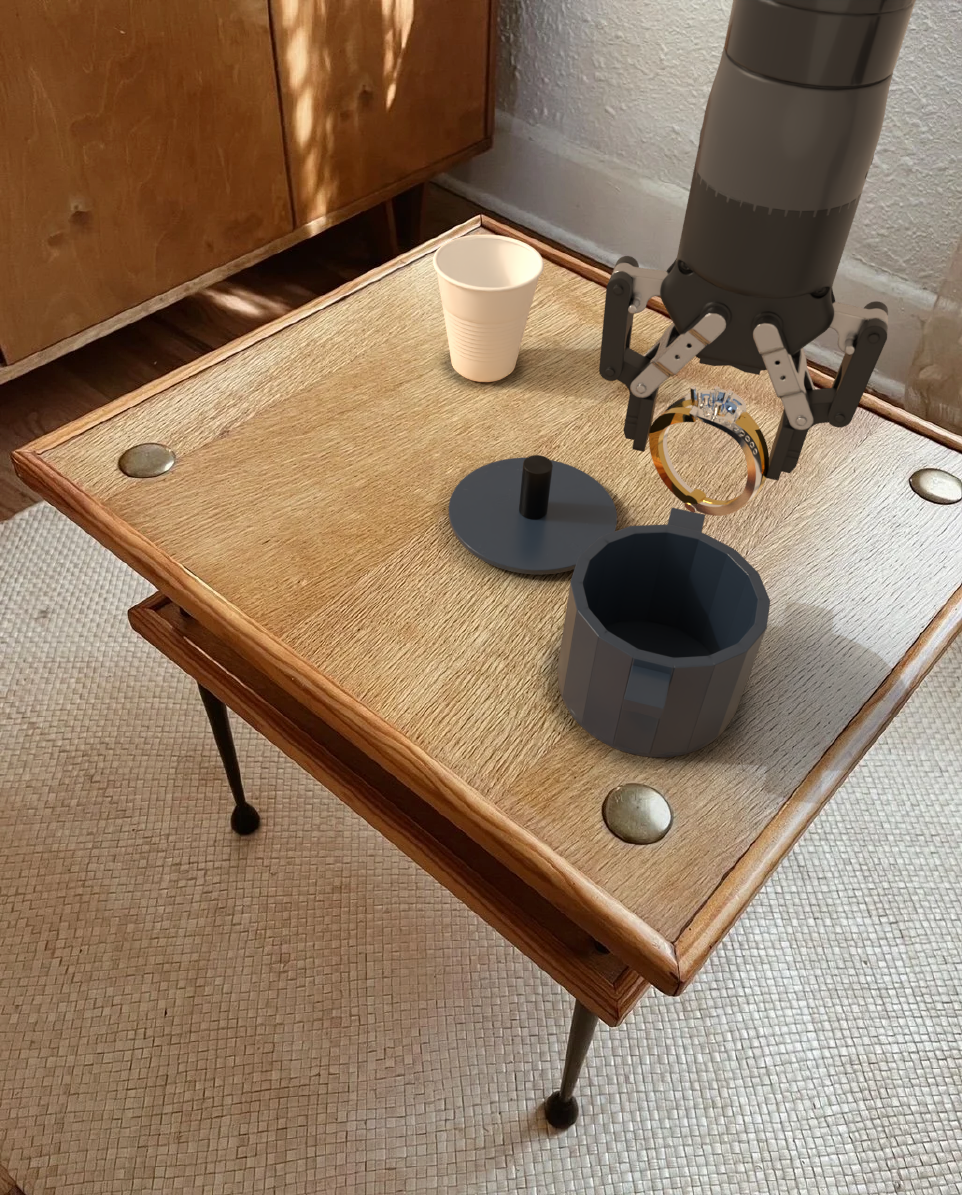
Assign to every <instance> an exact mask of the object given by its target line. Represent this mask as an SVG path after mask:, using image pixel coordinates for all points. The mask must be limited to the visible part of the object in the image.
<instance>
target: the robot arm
mask: <svg viewBox="0 0 962 1195" xmlns="http://www.w3.org/2000/svg"><path fill="white" fill-rule="evenodd" d="M916 1H917V0H732V3H731V8H730V9H731V10H730V13H729V18H728V24H727V29H726V34H725V39H724V45H723V49H722V53H721V57H720V61H719V64H718V67H717V71H716V73H715V76H714V79H713V82H712V84H711V88H710V92H709V95H708V97H707V102H706V106H705V110H704V114H703V121H702V124H701V125H702V126H701V129H700V131H699V139H698V140H699V141H698V147H697V152H696V157H695V162H694V167H693V171H692V177H691V183H690V188H689V193H688V198H687V204H686V209H685V214H684V218H683V224H682V228H681V235H680V240H679V244H678V250H677V255H676V258H675V259H674V261H673V262H672V264H671V265H670V266H669V267H668V268H667V269H666V270H661V269H654V268H646V267H640V264H639V262H638V261H637V259H636V258H634V257H633V256H631V255H623V256H621V257H619V258H618V259H617V261H616V263H615V265H614V267H613V269H612V272H611V275H610V277H609V279H608V282H607V284H606V287H605V288H606V290H605V299H604V300H605V301H604V310H603V322H602V332H601V344H600V354H599V355H600V356H599V364H598V366H599V367H598V372H599V375H600V377H601V378H602V379H604V380H605V381H608V382H614V381H618V382H620V383H622V384H624V386H626V388H627V389H628V392H629V394H628V395H629V397H628V402H627V407H626V414H625V419H624V424H623V429H622V430H623V435H624V438H625V439H627V440H631V441H633V443H632V450H633V451H638V452H643V453H644V452H645V451H646V448H647V444H648V442H649V434H650V429H651V426H652V424H653V420H654V415H655V409H656V406H657V405H656V404H657V400H658V395H659V390H660V386H661V385H662V384H663V383H664V382H665V381H667V380H668V379H669V378H670V377H672V378H673V377H674V376H676V375H677V374H678V373H679V372H680V371H681V370H682V369H683V368H684V367H685V366H686V365H688V363H690V362H691V361H692V360H693V359H694V358H695V357H696V358H697V359H699V362H698V364H701V365H705V366H706V365H707V366H711V367H724V366H725V367H728V366H730V367H732V368H734V369H737V370H739V371H741V372H744V373H747V374H752V375H756V376H760V374H761V372H762V371H763V372H764V371H767V374H768V376H769V379H770V381H771V385H772V387H773V390H774V393H775V395H776V398H778V399H780V401H781V404H782V406H783V410H782V414H781V417H780V420H779V424H778V427H777V430H776V432H775V436H774V439H773V443H772V446H771V450H770V453H769V468H768V472H767V476H766V479H769V480H773V481H779V480H780V478H781V475H782V473H785V474H791V473H792V472H793V471H794V470H795V469H796V467H797V466H798V465H797V464H798V462H799V459H800V456H801V452H802V450H803V447H804V445H805V441H806V438H807V435H808V432H809V431H810V429H811V428H813V427H814V426H816V425H819V424H829V425H831V426H832V427H834V428H844V427H847V426H849V425H850V424H851V422H852V420H853V418H854V416H855V413H856V411H857V409H858V407H859V404H860V402H861V399H862V398H863V395H864V393H865V391H866V388H867V386H868V383H869V382H870V379H871V377H872V374H873V372H874V370H875V368H876V366H877V363H878V361H879V358H880V356H881V354H882V352H883V349H884V347H885V345H886V342H887V340H888V328H889V309H888V306H887V305H886V304H885V302H882V301H877V300H875V301H871V302H869V303H867V304H866V305H865V306H864V307H860V306H857V305H851V304H847V303H844V302H838V301H836V298H835V294H834V291H833V290H834V289H833V286H834V282H835V280H836V276H837V273H838V269H839V266H840V263H841V260H842V256H843V253H844V250H845V248H846V244H847V241H848V238H849V234H850V231H851V229H852V225H853V222H854V219H855V216H856V213H857V209H858V206H859V203H860V200H861V198H862V194H863V190H864V187H865V185H866V184H865V183H866V181H867V178H868V175H869V171H870V168H871V166H872V164H873V161H874V157H875V153H876V150H877V147H878V144H879V140H880V136H881V133H882V129H883V124H884V119H885V115H886V109H887V102H888V96H889V92H890V87H891V84H892V79H893V74H894V70H895V68H896V65H897V62H898V60H899V56H900V53H901V49H902V46H903V43H904V40H905V37H906V33H907V30H908V27H909V24H910V21H911V17H912V14H913V11H914V8H915V5H916ZM654 297H660V300H661V302H662V304H663V306H664V308H665V310H666V312H667V313H668V315H669V317H670V319H671V321H672V323H671V324H670V325H668V327H667V328H666V329H665V330H664V332H663V333H662V335H661V336H660V338H659V339H658V340H657V341H656V342H655V343H653V345H652V346H651V347H650V348H648V350H647V351H646V352H645V353H643V354H641V353H639V352H637V351H636V350H634V349H632V348H631V344H632V343H631V341H632V332H633V325H634V324H633V323H634V315H635V314H639V313H642V312H644V311H645V309H646V308H647V305H648V302H649V301H650V300H651V299H652V298H654ZM829 328H830V329H832V330H834V331H835V332H836V334H837V347H838V349H839V350H840V352H842V353H844V355H843V357H842V360H841V362H840V365H839V367H838V370H837V372H836V374H835V376H834V377H835V378H834V380H833V382H832V385H831V387H826V388H817V389H816V387H815V385H814V382H813V380H812V376H811V373H810V370H809V368H808V363H807V355H806V353H805V349H804V348H805V347H806V346H807V345H809V344H810V343H811V342H813V341H814V340H816V339H817V338H819V337H820V336H822V335H823V334H824V333H825V332H826V331H828V330H829Z"/></svg>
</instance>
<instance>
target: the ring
mask: <svg viewBox="0 0 962 1195" xmlns="http://www.w3.org/2000/svg"><path fill="white" fill-rule="evenodd" d="M689 406H691V407H689ZM697 421H699V422H701V423H704V424H706V425H709V426H712V427H714V428H716V429H718V430H720V431H722V432H724V433H726V434H727V435H728V436H730V438H732V439H734V440H735V442H736V443H737V444H738V445H739V447H740V448H741V450H742V452H743V455H744V457H745V461H746V462H745V463H746V468H747V476H746V483H745V486H744V489H743V490H742V492H741V493H740V494H739V495H738V496H736V497H733V498H731V499H727V500H719V499H713V498H710V497H707V494H706V493H705V491H703V490H701V489H700V488H694V489H693V488H692V487H690V485H688V484H687V482H685V480H684V479H683V478H681V476H680V474H679V473H678V471H677V470H676V468H675V466H674V464H673V461H672V460H671V457H670V453H669V448H668V434H669V431H670V427H671V426H672V425H675V424H682V423H696V422H697ZM648 446H649V452H650V456H651V461H652V463H653V466H654V468H655V470H656V472H657V474H658V476H659V477H660V479H661V480H662V482H663V483H664V485H665V486H666V488H667V489H668V490H669V491H670V492H671V493H672V494H673V495H674V497H676V498H677V499H678V500H680V502H682V503H683V506H684V508H685V509H686V510H687V511H691V512H695V513H700V514H704V515H708V516H714V517H721V516H727V515H731V514H734V513H735V512H737V511H739V510H741V509H742V508H744V507H745V506H746V505H748V504H749V503H751V502H752V501H753V500H754V499H755V498H756V496H758V494H759V493H760V492H761V491H762V488H763V487H764V485H765V483H766V480H767V478H766V476H767V472H768V468H769V456H770V453H769V448H768V444H767V441H766V438H765V435H764V433H763V431H762V429H761V428H760V426H759V425H758V423H757V422H756V421H755V419H754V418H753V417H752V416H751V415H750V414H749V412H748V411H747V403H746V402H745V400H744V398H742V397H741V396H740V395H739V394H737V393H736V392H735V391H733V390H732V389H729V388H728V389H727V390H724V388H721V387H720V386H718V385H715V386H714V388H713V389H703V390H697V385H693V386H691V387H689V393H686V394H684V395H683V396H681V397H680V398H678V399H677V400H675V401H673V403H671V404H670V405H669V406H668V407H667V408H666V409H665V410H664V412H662V413H661V414H660V415H659V416H658V417H656V418H655V420H654V421H652V425H651V429H650V434H649V438H648Z"/></svg>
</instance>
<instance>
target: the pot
mask: <svg viewBox="0 0 962 1195" xmlns="http://www.w3.org/2000/svg"><path fill="white" fill-rule="evenodd" d="M705 519H706V514H704V513H701V512H691V511H689V510H687V509H686V510H685V509H681V508H676V507H671V508H670V512H669V516H668V520H667V524H641V525H640V524H639V525H629V526H626V527H623V528H621V529H618V530H616V531H615V532H612V533H609V534H607V535H604V536H601V537H599V538H598V539H597V540H596V541H595V542H594V543H593V544H592V545H591V546H590V547H589V548H587V549H586V550H585V551H584V552H583V553H582V554H581V555H580V556H579V557H578V560H577V563H576V566H575V569H573V572H572V575H571V579H570V583H569V588H568V594H567V602H566V608H565V614H564V616H565V617H564V621H563V622H564V623H563V629H562V636H561V641H560V649H559V655H558V661H557V668H556V672H557V683H558V690H559V692H560V696H561V699H562V701H563V703H564V706H565V707H566V709H567V711H568V713H569V714H570V715H571V717H572V718H573V719H574V720H575V722H576V723H577V724H578V725H579V726H580V727H581V728H582V729H584V730H585V731H586V732H587V734H589V735H591V736H592V737H593V738H595V739H596V740H598V741H600V742H602V743H603V744H605V745H606V746H608V747H611V748H613V749H616V750H618V751H620V752H621V751H622V752H624V753H628V754H631V755H635V756H641V757H648V758H671V757H678V756H683V755H688V754H690V753H693V752H696V751H698V750H701V749H703V748H705V747H707V746H708V745H710V744H711V743H713V742H714V741H715V740H716V739H718V738H719V737H720V736H722V734H723V733H724V731H725V730H726V729H727V728H728V726H729V724H731V721H732V719H733V718H734V717H735V716H736V713H737V711H738V708H739V705H740V702H741V699H742V697H743V695H744V692H745V689H746V686H747V684H748V680H749V678H750V676H751V673H752V670H753V667H754V664H755V661H756V659H757V656H758V653H759V650H760V648H761V645H762V642H763V640H764V637H765V635H766V631H767V628H768V621H769V614H770V606H771V599H770V597H769V594H768V592H767V589H766V587H765V584H764V582H763V579H762V577H761V575H760V573H759V571H758V570H757V569H755V568H754V566H752V564H751V563H749V561H747V560H746V559H745V558H744V556H742V554H741V553H740V552H738V550H736V549H735V548H733V547H732V546H729V545H727V544H726V543H723V542H722V541H720V540H718V539H716V538H714V537H712V536H711V535H709V534H706V533H704V532H703V529H704V523H705Z"/></svg>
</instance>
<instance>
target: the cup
mask: <svg viewBox="0 0 962 1195" xmlns="http://www.w3.org/2000/svg"><path fill="white" fill-rule="evenodd" d="M544 262H545V261H544V259H543V257H542V255H541V253H540V252H539V251H538V250H536V248H534V247H533V246H531V245H529V244H528V243H526V242H523V241H521V240H519V239H516V238H512V237H509V236H504V235H499V234H470V235H465V236H460V237H457V238H454V239H451V240H449V241H447V242H445V243H443V244H442V245H441V246H440V247H439V248H437V250H436V251H435V252H434V255H433V258H432V266H433V268H434V270H435V272H436V275H437V281H438V282H437V283H438V288H439V294H440V295H439V296H440V300H441V307H442V312H443V316H444V318H443V319H444V324H445V330H446V335H447V343H448V350H449V355H450V361H451V365H452V367H453V369H454V371H455V372H456V373H457V374H459V375H460V376H462V377H463V378H465V379H467V380H470V381H474V382H477V383H478V382H479V383H491V382H496V381H500V380H502V379H504V378H506V377H507V376H509V375H510V374H511V373H512V372H514V370H515V368H516V364H517V361H518V358H519V354H520V350H521V346H522V345H521V344H522V342H523V338H524V334H525V330H526V327H527V323H528V320H529V316H530V312H531V308H532V305H533V302H534V299H535V295H536V290H537V287H538V284H539V280H540V277H541V276H542V274H543V272H544V270H545V263H544Z"/></svg>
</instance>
